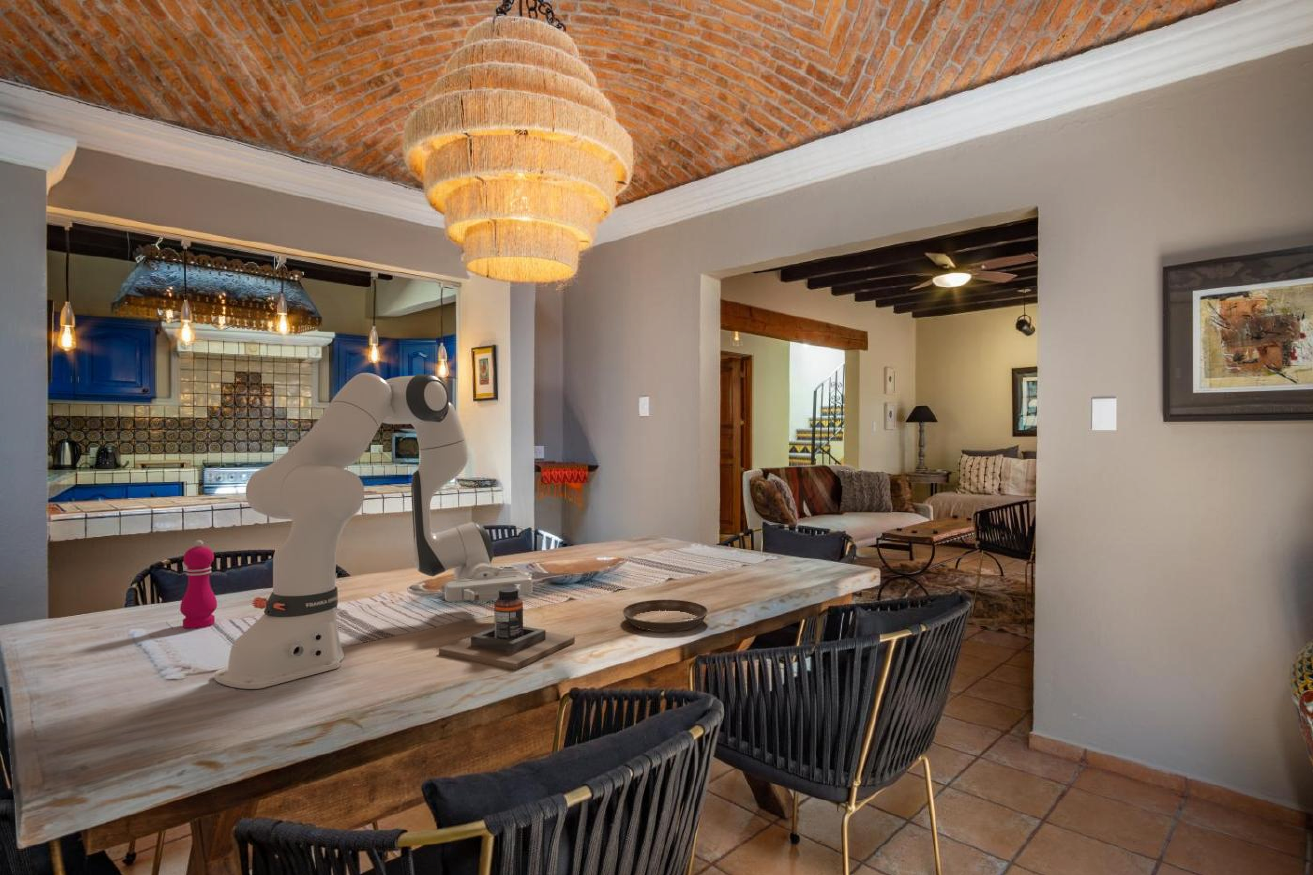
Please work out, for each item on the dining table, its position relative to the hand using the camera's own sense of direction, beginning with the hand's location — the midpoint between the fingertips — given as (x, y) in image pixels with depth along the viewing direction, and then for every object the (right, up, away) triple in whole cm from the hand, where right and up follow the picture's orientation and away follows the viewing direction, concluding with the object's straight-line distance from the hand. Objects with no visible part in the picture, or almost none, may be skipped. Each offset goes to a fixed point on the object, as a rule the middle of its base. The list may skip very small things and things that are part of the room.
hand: (496, 594), depth 156 cm
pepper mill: (-72, -9, +7) cm, 72 cm away
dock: (+5, -9, -9) cm, 14 cm away
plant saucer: (+38, -10, +12) cm, 41 cm away
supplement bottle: (+5, -8, -9) cm, 13 cm away
